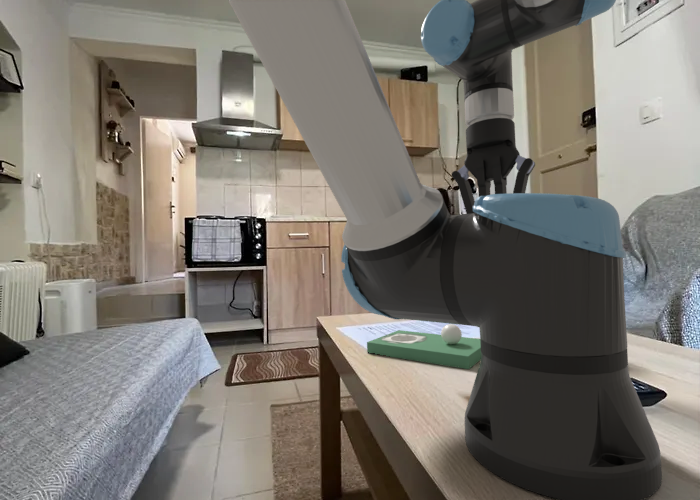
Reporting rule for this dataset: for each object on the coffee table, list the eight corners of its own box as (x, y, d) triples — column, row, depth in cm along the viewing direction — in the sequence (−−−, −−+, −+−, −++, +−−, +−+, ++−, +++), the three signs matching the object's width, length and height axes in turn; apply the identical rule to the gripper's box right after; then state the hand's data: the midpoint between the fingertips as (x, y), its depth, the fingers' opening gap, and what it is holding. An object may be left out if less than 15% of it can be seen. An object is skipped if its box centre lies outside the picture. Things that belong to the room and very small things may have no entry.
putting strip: (468, 369, 56) (468, 356, 56) (367, 352, 68) (366, 342, 68) (491, 351, 66) (490, 340, 66) (399, 339, 77) (398, 330, 77)
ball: (457, 347, 62) (456, 326, 62) (438, 345, 64) (437, 325, 64) (464, 343, 64) (464, 323, 64) (446, 340, 66) (445, 321, 66)
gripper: (537, 120, 59) (544, 265, 59) (459, 138, 67) (464, 266, 66) (527, 106, 53) (535, 268, 53) (442, 128, 61) (448, 269, 60)
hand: (495, 267), depth 59 cm, fingers closed
